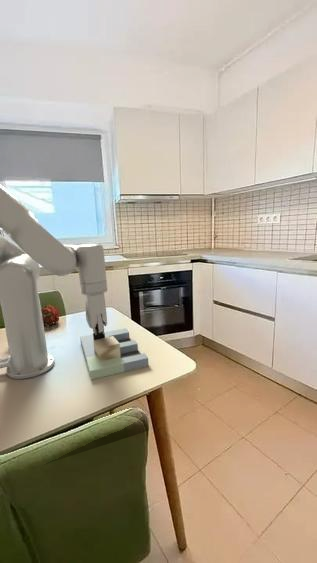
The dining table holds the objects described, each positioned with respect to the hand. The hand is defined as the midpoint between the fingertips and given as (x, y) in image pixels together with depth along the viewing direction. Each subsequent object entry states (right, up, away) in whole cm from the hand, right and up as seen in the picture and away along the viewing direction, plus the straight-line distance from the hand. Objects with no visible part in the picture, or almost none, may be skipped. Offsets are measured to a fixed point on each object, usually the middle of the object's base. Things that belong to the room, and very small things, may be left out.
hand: (99, 345), depth 84 cm
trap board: (+3, -3, +2) cm, 5 cm away
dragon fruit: (-27, +2, +30) cm, 41 cm away
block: (+3, -2, -4) cm, 5 cm away
